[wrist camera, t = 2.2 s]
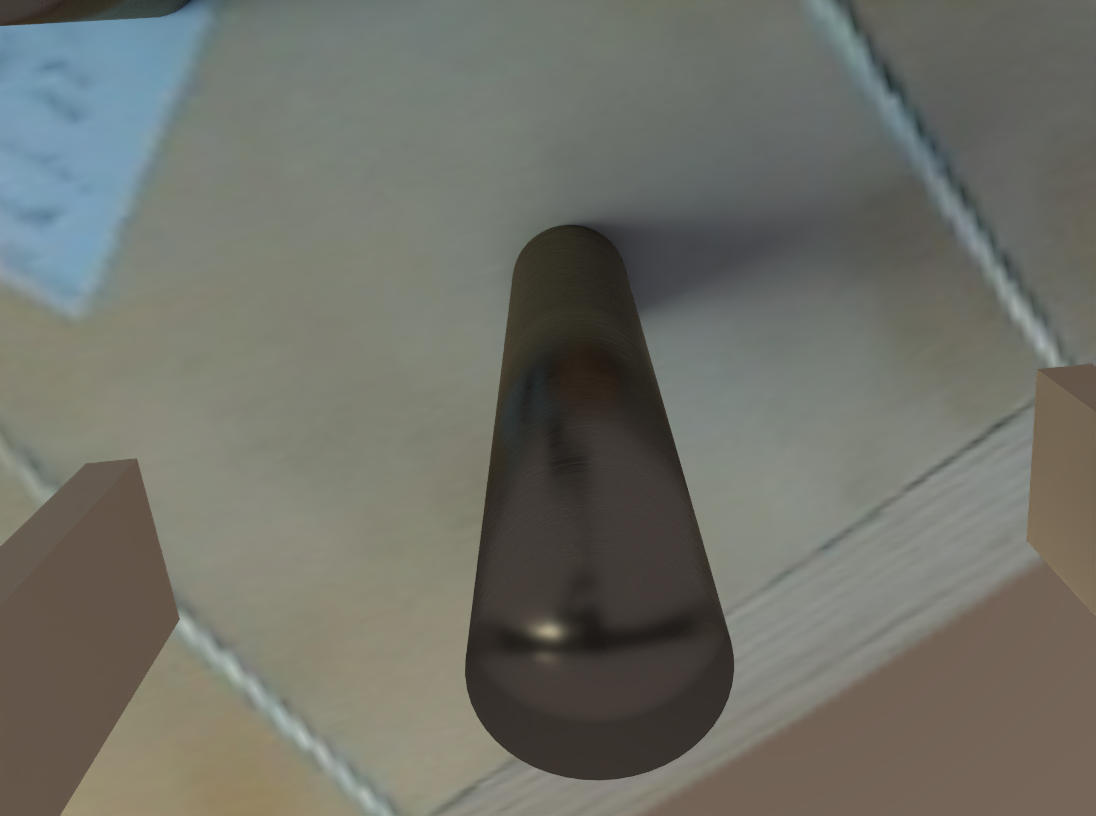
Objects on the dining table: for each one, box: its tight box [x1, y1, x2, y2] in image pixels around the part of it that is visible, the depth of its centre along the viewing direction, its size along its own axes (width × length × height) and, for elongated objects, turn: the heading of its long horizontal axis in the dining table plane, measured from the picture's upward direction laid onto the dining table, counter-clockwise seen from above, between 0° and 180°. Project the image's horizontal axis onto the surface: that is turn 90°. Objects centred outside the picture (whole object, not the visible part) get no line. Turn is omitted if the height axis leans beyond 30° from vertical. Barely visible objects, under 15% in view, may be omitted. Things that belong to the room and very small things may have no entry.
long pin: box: [465, 225, 734, 780], centre depth 18 cm, size 3×3×16 cm
